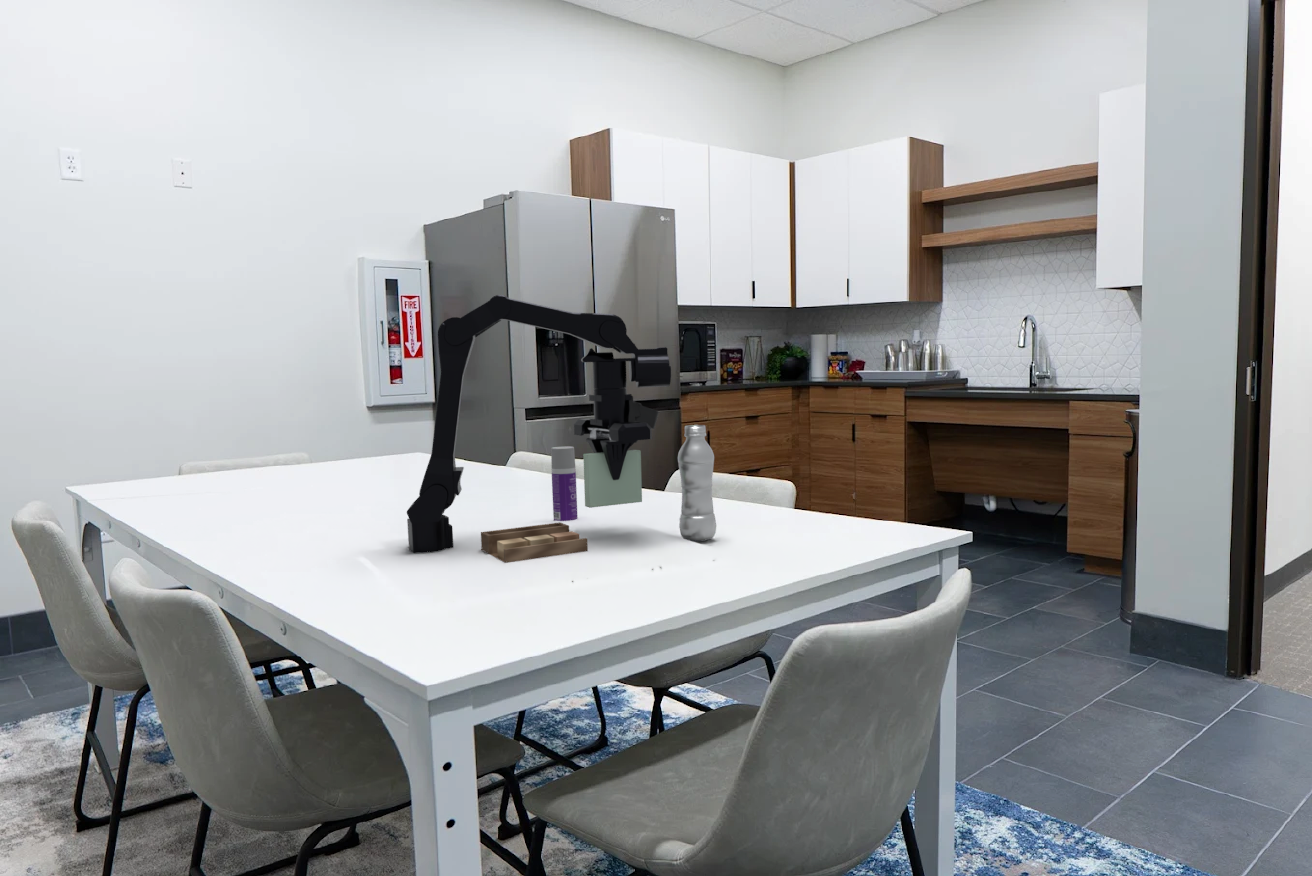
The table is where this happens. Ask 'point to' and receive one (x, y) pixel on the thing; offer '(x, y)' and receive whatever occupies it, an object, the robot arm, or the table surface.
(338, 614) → the table surface
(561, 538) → the offcut
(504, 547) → the offcut
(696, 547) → the table surface
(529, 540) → the offcut
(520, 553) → the rack
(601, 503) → the green rectangular block
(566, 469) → the container
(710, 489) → the plastic bottle
